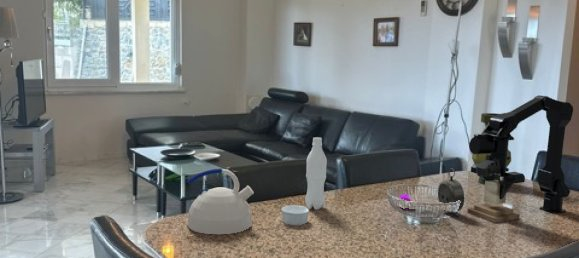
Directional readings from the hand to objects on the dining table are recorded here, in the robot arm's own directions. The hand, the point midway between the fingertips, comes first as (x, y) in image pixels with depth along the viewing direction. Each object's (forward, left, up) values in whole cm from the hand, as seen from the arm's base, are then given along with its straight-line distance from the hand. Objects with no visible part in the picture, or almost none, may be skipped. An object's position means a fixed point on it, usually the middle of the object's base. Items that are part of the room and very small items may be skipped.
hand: (494, 197), depth 187 cm
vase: (-37, -35, -7) cm, 51 cm away
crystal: (+23, -20, -7) cm, 31 cm away
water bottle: (+53, -32, -7) cm, 62 cm away
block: (0, 0, -2) cm, 2 cm away
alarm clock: (+13, -8, -7) cm, 17 cm away
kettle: (+90, -28, -7) cm, 95 cm away
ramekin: (+67, -21, -7) cm, 71 cm away
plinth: (0, 0, -7) cm, 7 cm away
